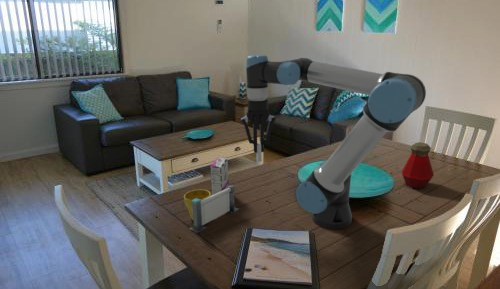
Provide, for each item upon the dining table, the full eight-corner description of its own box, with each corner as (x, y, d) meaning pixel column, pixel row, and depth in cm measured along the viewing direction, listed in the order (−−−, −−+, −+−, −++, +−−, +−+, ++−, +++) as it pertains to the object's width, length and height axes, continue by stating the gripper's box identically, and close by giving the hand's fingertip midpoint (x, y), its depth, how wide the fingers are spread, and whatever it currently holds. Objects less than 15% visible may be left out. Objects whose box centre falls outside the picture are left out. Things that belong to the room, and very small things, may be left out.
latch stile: (206, 228, 143) (204, 199, 140) (197, 233, 140) (196, 203, 136) (197, 224, 146) (196, 196, 142) (189, 229, 143) (187, 200, 139)
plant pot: (190, 226, 144) (188, 202, 141) (182, 215, 153) (180, 192, 150) (216, 219, 148) (214, 195, 146) (207, 209, 157) (205, 187, 155)
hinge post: (239, 209, 157) (239, 191, 155) (232, 213, 154) (231, 194, 151) (231, 206, 160) (230, 188, 157) (224, 210, 157) (223, 191, 154)
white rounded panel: (231, 206, 158) (231, 184, 155) (236, 208, 157) (235, 186, 154) (198, 223, 145) (197, 200, 142) (203, 226, 143) (202, 202, 140)
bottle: (422, 194, 171) (428, 151, 164) (393, 185, 180) (398, 144, 174) (437, 185, 180) (444, 144, 174) (410, 176, 190) (415, 137, 184)
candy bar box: (218, 191, 174) (217, 157, 169) (229, 192, 173) (228, 157, 168) (211, 202, 164) (209, 166, 159) (222, 203, 163) (221, 167, 158)
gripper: (273, 96, 144) (274, 156, 151) (238, 97, 143) (241, 158, 149) (277, 99, 137) (277, 162, 144) (240, 101, 135) (243, 164, 142)
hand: (259, 160), depth 147 cm, fingers closed
